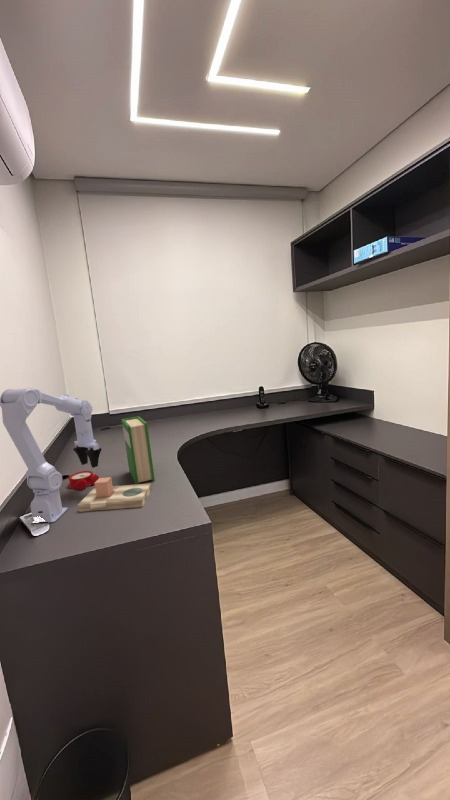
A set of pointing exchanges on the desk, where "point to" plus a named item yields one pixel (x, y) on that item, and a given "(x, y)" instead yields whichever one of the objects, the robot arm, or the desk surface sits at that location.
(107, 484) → the peg
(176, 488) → the desk surface
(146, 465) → the hardback book
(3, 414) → the robot arm
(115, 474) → the desk surface
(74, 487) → the alarm clock
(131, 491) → the pocket board
